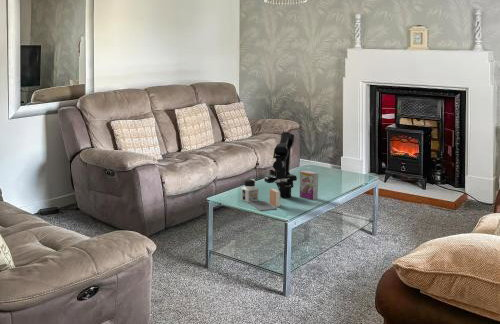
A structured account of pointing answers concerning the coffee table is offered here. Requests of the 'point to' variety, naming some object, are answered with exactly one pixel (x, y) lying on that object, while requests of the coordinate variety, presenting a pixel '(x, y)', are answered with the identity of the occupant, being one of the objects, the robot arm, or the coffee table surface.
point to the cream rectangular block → (274, 197)
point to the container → (249, 191)
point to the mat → (262, 205)
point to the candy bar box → (309, 185)
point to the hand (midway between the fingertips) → (280, 192)
